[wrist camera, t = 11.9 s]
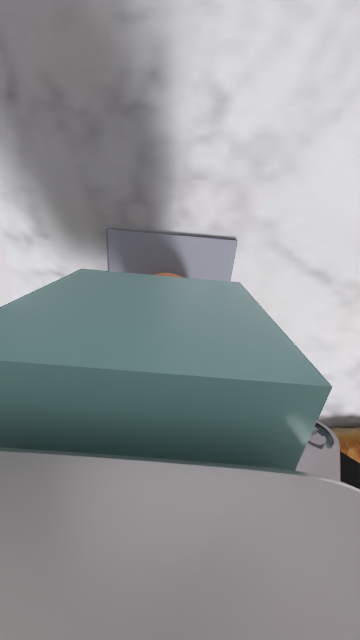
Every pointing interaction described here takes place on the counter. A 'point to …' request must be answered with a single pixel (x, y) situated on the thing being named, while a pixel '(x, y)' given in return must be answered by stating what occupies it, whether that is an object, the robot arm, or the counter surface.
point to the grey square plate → (170, 254)
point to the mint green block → (154, 372)
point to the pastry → (349, 441)
